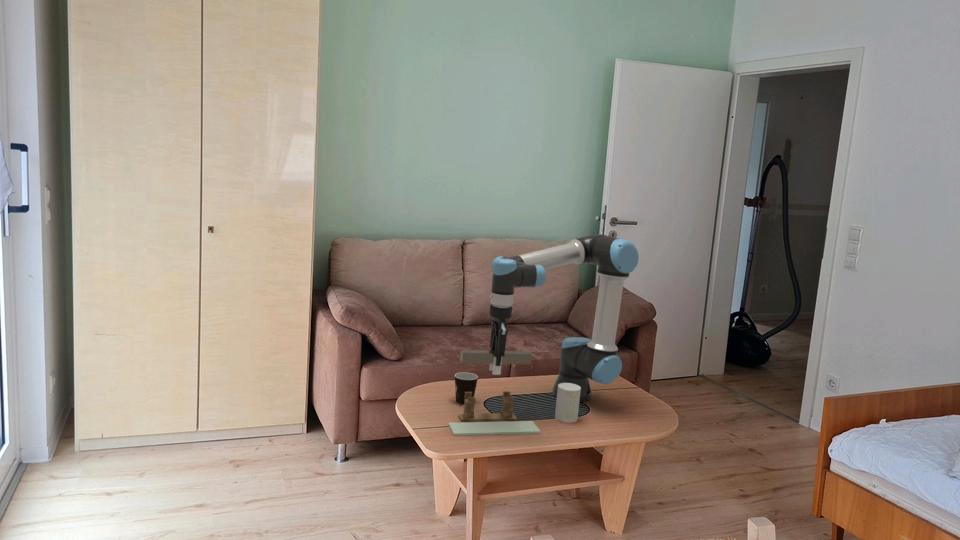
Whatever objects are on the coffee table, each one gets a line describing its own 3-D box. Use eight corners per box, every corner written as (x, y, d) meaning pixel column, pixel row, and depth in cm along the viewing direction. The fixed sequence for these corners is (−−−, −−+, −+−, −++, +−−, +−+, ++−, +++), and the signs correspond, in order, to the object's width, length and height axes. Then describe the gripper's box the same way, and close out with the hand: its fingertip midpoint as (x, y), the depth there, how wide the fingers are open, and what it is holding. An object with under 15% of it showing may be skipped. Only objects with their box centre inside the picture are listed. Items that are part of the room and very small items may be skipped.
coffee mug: (473, 407, 266) (475, 381, 264) (450, 404, 267) (452, 378, 266) (479, 396, 277) (481, 371, 275) (457, 393, 279) (459, 368, 277)
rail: (528, 361, 251) (529, 351, 251) (531, 364, 248) (532, 354, 247) (460, 359, 246) (460, 349, 245) (462, 363, 242) (462, 352, 242)
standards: (512, 415, 261) (514, 391, 260) (517, 421, 256) (519, 397, 254) (458, 416, 256) (459, 391, 255) (461, 422, 251) (463, 397, 249)
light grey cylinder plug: (562, 424, 257) (566, 391, 255) (550, 415, 264) (553, 383, 262) (581, 421, 261) (585, 389, 259) (569, 413, 268) (572, 382, 266)
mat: (532, 423, 256) (532, 420, 255) (540, 433, 247) (540, 431, 247) (448, 424, 248) (448, 422, 248) (453, 435, 240) (454, 433, 239)
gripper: (484, 299, 250) (479, 364, 255) (496, 310, 234) (489, 380, 239) (505, 299, 252) (499, 364, 256) (518, 311, 236) (511, 380, 240)
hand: (494, 372), depth 247 cm, fingers closed on rail, 3 cm apart
